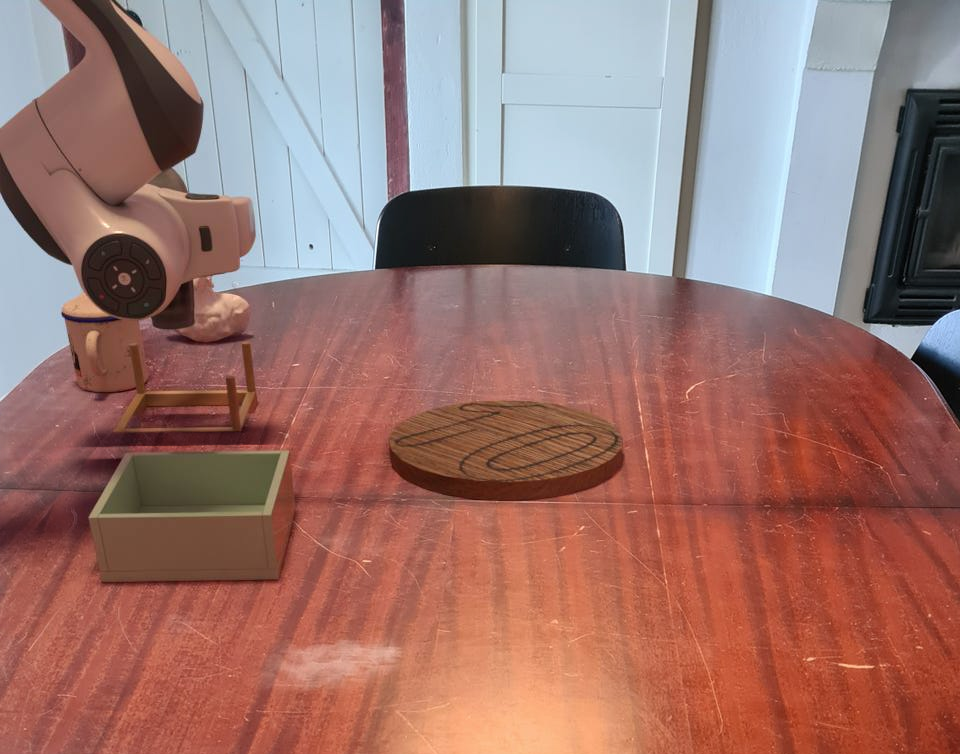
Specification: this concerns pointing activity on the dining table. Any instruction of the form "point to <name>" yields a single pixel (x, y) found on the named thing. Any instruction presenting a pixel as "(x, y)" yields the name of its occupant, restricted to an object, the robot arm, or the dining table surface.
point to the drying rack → (192, 398)
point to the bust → (215, 313)
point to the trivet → (505, 450)
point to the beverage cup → (183, 302)
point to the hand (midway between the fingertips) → (157, 209)
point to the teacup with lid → (101, 347)
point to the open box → (195, 516)
